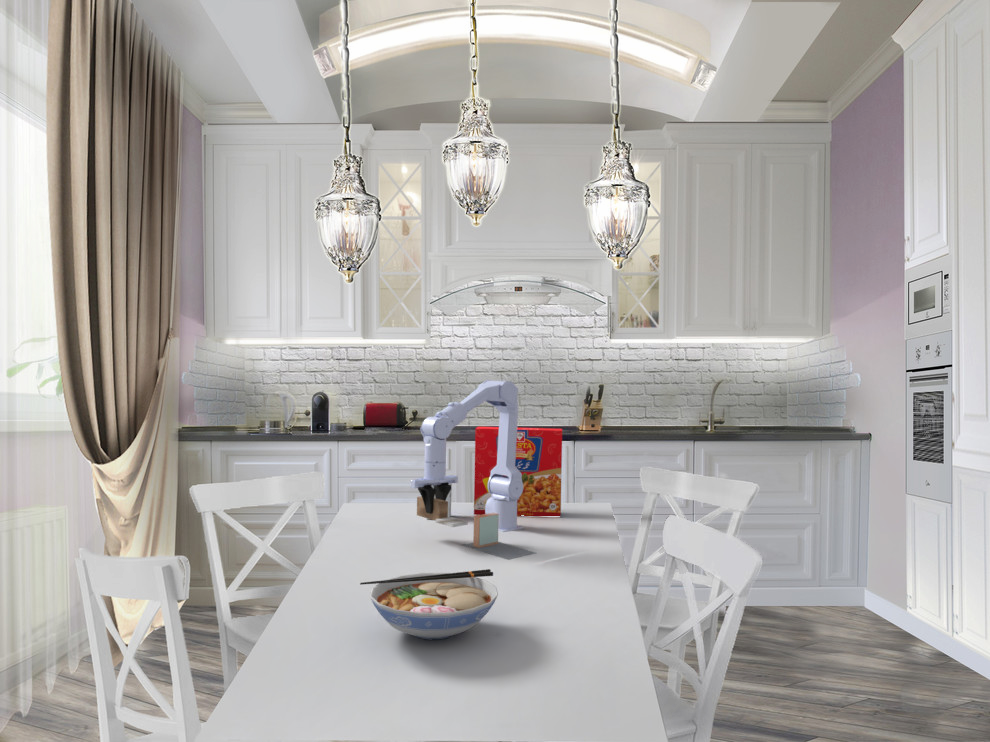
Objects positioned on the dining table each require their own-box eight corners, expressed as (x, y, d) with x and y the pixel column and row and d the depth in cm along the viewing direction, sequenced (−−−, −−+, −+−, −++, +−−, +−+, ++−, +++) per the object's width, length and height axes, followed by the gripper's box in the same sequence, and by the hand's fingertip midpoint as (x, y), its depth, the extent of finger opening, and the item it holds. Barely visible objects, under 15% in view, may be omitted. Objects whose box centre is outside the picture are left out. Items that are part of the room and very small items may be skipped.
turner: (413, 515, 187) (413, 497, 187) (428, 513, 190) (428, 495, 190) (452, 527, 175) (453, 507, 175) (467, 524, 178) (468, 505, 178)
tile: (473, 546, 181) (473, 515, 181) (493, 542, 185) (493, 512, 185) (478, 547, 179) (479, 517, 179) (498, 543, 184) (499, 513, 184)
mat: (461, 546, 182) (461, 544, 182) (489, 540, 189) (489, 539, 189) (508, 561, 169) (508, 559, 169) (536, 554, 175) (536, 552, 175)
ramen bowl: (369, 666, 108) (370, 614, 108) (356, 615, 130) (357, 572, 130) (520, 650, 115) (521, 602, 115) (484, 605, 137) (485, 564, 137)
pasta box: (473, 514, 222) (475, 428, 222) (476, 509, 230) (478, 426, 230) (560, 518, 220) (562, 430, 220) (560, 512, 228) (562, 428, 228)
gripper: (422, 465, 176) (421, 518, 176) (465, 461, 186) (464, 511, 186) (406, 462, 182) (405, 513, 182) (449, 458, 191) (448, 507, 192)
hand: (434, 512), depth 184 cm, fingers closed on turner, 3 cm apart
